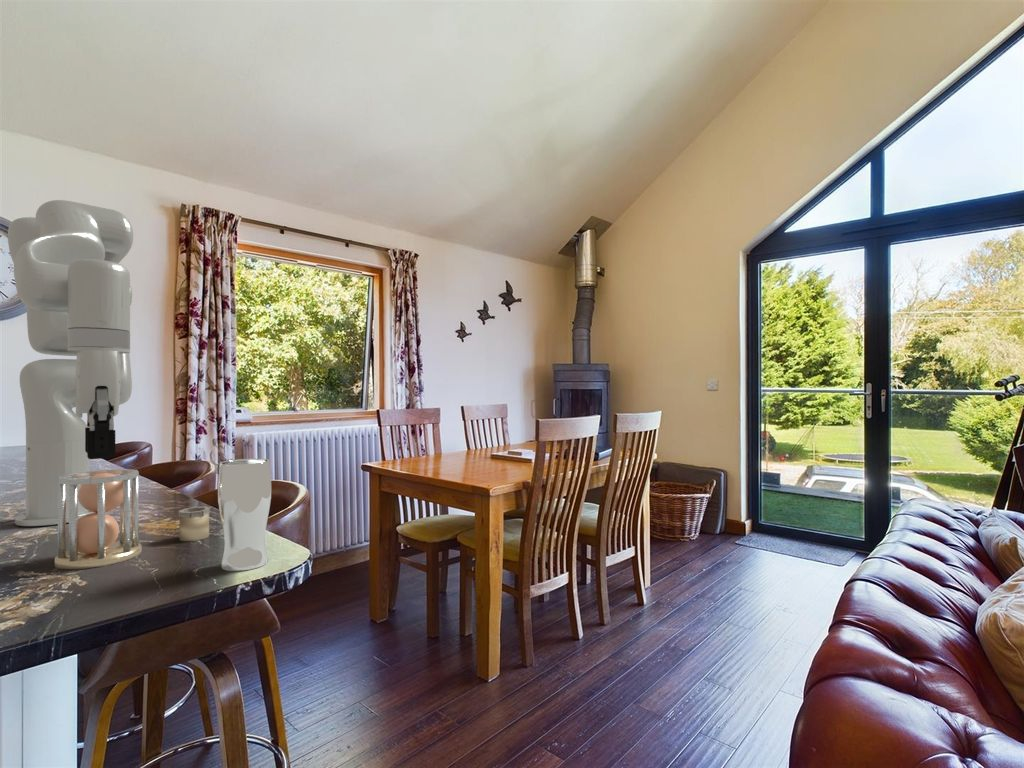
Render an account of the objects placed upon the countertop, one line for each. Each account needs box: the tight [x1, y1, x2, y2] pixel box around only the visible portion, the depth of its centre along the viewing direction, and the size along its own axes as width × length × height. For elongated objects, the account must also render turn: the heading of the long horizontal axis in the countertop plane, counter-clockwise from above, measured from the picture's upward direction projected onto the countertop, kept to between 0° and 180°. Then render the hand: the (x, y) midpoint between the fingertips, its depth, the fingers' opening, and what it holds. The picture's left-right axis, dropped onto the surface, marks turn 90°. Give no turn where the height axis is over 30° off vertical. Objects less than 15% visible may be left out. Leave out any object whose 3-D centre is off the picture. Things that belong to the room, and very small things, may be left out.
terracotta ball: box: [78, 473, 123, 513], centre depth 82 cm, size 6×6×6 cm
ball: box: [67, 513, 120, 554], centre depth 80 cm, size 6×6×6 cm
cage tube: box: [54, 468, 142, 570], centre depth 81 cm, size 10×10×13 cm
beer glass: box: [217, 458, 272, 572], centre depth 77 cm, size 7×7×15 cm
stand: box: [178, 506, 211, 542], centre depth 91 cm, size 4×4×5 cm
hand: (99, 455), depth 81 cm, fingers open, 9 cm apart
